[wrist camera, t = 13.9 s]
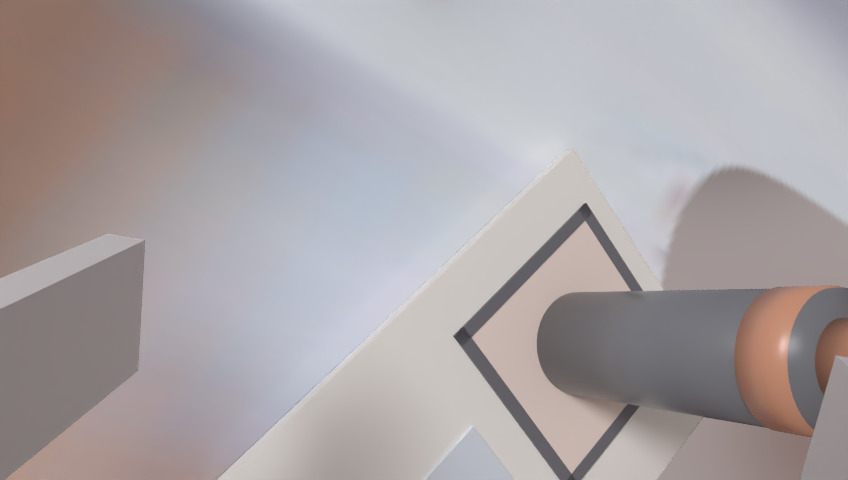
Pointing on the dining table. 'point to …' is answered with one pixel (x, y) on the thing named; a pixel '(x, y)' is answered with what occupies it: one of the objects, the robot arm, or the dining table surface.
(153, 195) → the dining table surface
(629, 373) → the grey and orange bottle
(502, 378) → the board
